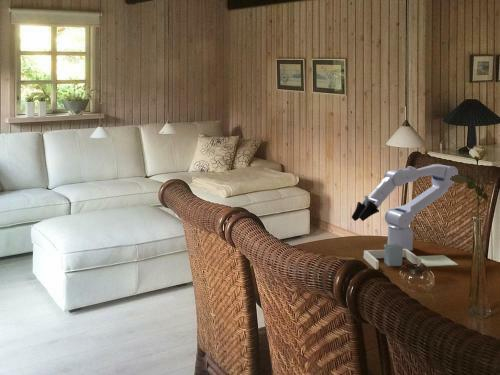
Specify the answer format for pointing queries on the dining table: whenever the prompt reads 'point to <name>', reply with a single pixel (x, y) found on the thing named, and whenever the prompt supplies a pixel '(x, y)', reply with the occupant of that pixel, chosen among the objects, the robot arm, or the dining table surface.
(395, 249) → the block
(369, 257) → the grey u-shaped bracket
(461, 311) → the dining table surface
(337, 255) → the dining table surface
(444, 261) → the mat
